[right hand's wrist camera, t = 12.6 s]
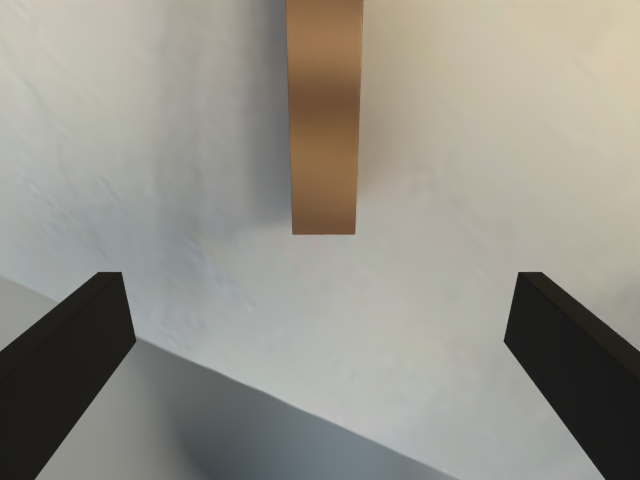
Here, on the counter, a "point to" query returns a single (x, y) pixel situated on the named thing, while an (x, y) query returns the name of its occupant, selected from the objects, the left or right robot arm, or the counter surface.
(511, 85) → the counter surface
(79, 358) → the right robot arm
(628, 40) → the counter surface
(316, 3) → the beam
